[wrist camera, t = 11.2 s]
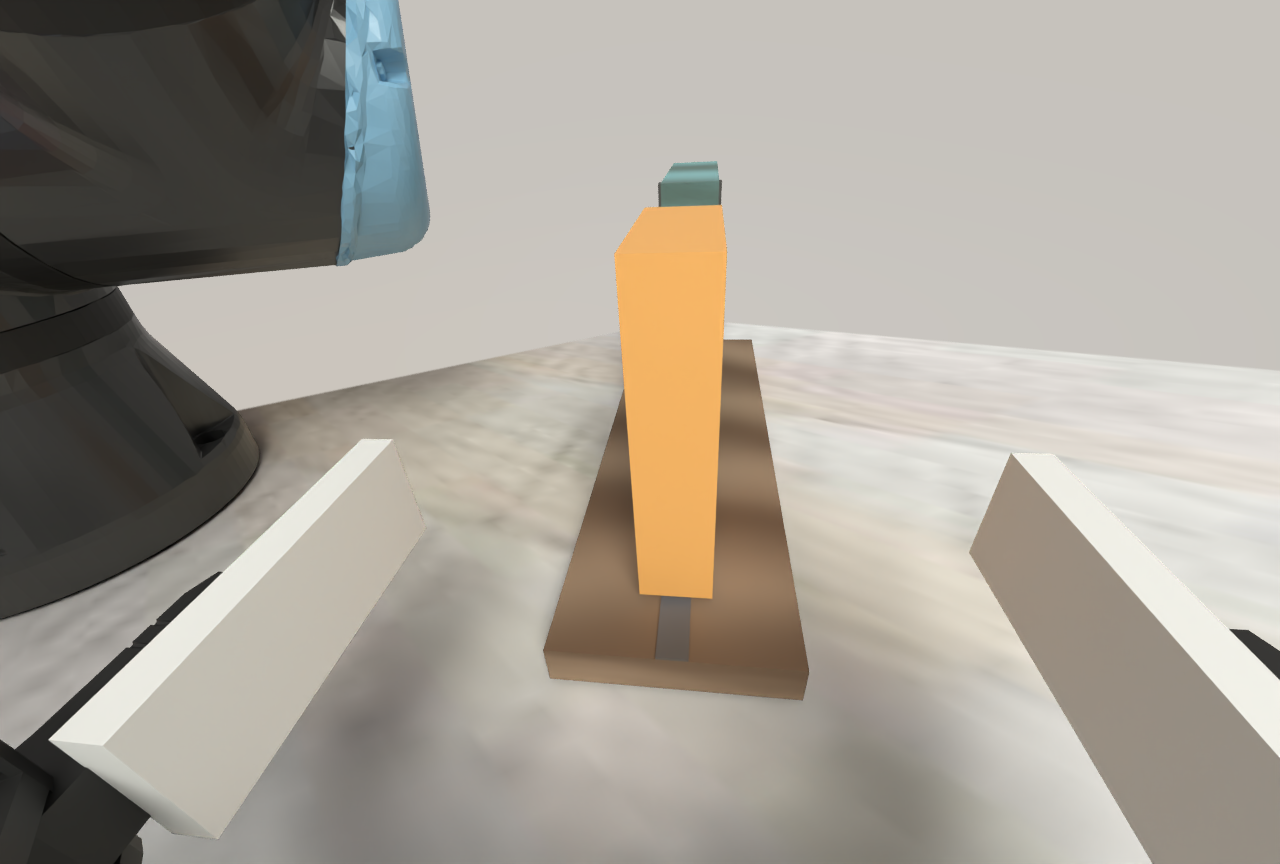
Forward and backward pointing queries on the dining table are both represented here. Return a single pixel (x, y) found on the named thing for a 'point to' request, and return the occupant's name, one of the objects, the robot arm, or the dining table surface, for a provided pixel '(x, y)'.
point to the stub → (673, 390)
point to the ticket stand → (743, 554)
